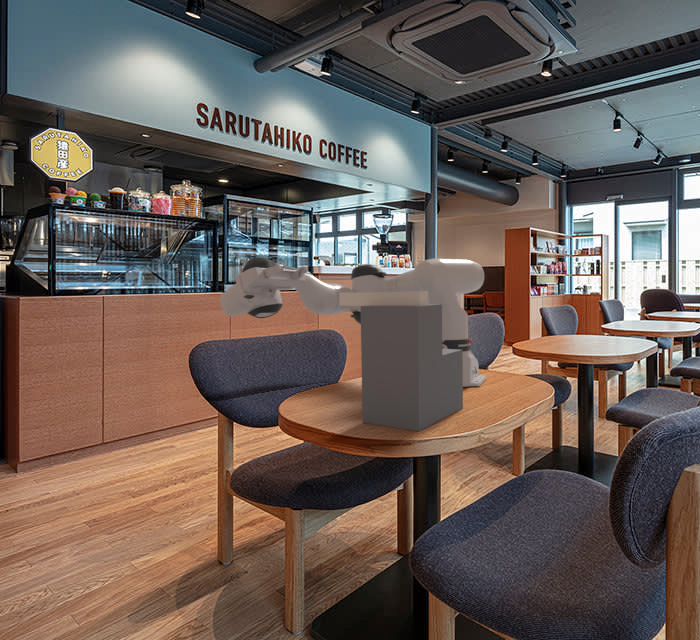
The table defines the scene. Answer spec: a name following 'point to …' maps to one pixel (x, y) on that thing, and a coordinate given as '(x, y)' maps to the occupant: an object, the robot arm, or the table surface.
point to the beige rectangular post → (384, 299)
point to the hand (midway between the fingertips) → (293, 267)
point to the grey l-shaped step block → (408, 367)
